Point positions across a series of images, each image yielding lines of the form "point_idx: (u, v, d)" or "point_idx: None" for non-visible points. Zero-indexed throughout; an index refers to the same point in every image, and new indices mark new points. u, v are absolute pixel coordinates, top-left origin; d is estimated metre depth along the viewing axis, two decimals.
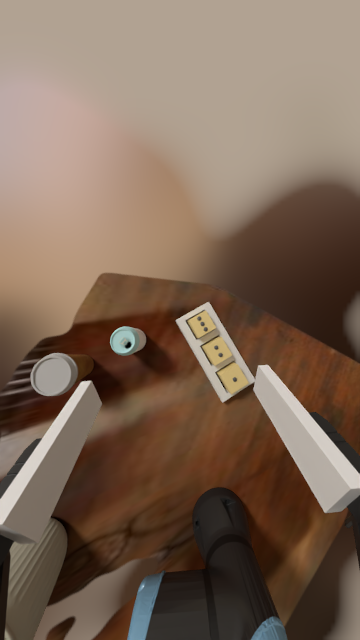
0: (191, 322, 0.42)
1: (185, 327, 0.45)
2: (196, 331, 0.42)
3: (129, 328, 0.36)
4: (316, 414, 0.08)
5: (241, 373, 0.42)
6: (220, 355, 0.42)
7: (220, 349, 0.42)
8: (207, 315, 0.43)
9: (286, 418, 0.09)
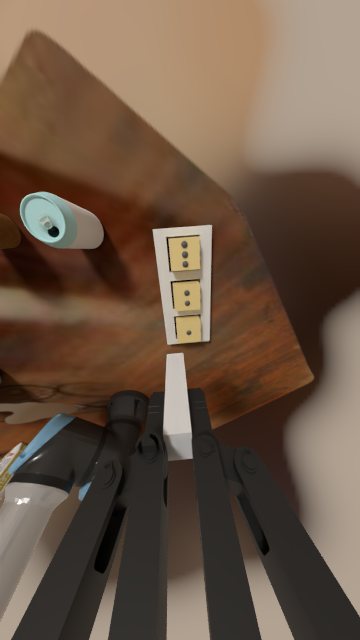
0: (171, 244, 0.28)
1: (162, 248, 0.31)
2: (172, 261, 0.30)
3: (60, 202, 0.21)
4: (199, 389, 0.11)
5: (198, 330, 0.37)
6: (186, 303, 0.33)
7: (190, 297, 0.33)
8: (197, 245, 0.29)
9: None
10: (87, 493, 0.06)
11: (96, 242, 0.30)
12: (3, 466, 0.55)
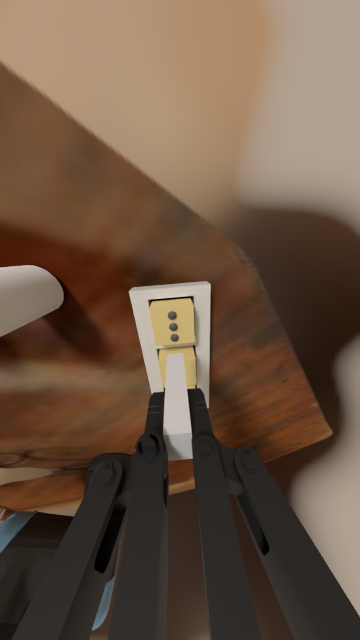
0: (153, 316, 0.20)
1: (144, 312, 0.23)
2: (156, 334, 0.21)
3: None
4: (199, 389, 0.11)
5: None
6: None
7: None
8: (190, 316, 0.20)
9: None
10: (87, 493, 0.06)
11: (50, 309, 0.21)
12: None
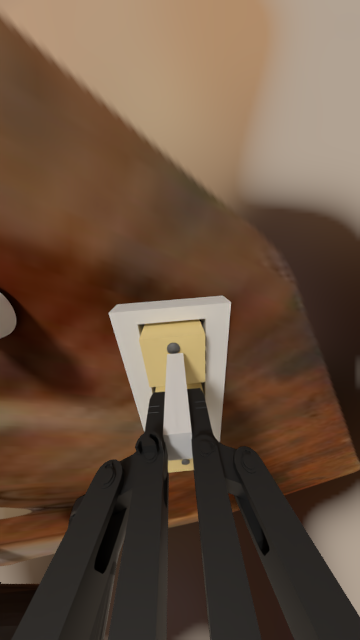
0: (145, 349, 0.14)
1: (132, 342, 0.16)
2: (150, 373, 0.15)
3: None
4: (199, 389, 0.11)
5: None
6: None
7: None
8: (200, 349, 0.14)
9: None
10: (87, 493, 0.06)
11: None
12: None
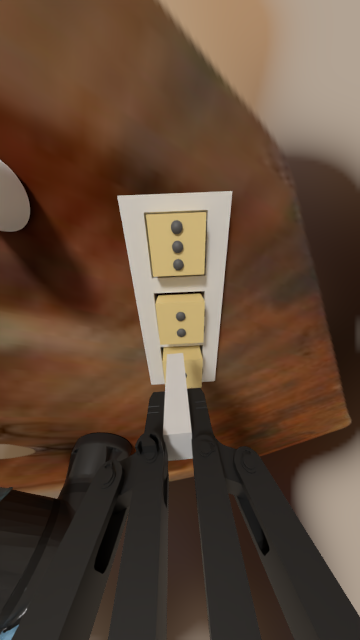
0: (151, 227, 0.15)
1: (138, 234, 0.17)
2: (154, 258, 0.16)
3: None
4: (199, 389, 0.11)
5: (199, 372, 0.23)
6: (180, 333, 0.19)
7: (186, 324, 0.19)
8: (201, 231, 0.15)
9: None
10: (87, 493, 0.06)
11: (8, 217, 0.15)
12: None
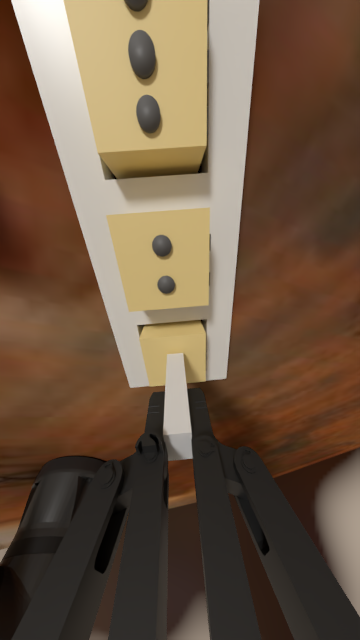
0: None
1: (59, 58, 0.08)
2: (93, 96, 0.07)
3: None
4: (199, 389, 0.11)
5: (201, 357, 0.14)
6: (164, 286, 0.10)
7: (175, 265, 0.10)
8: (197, 0, 0.06)
9: None
10: (87, 493, 0.06)
11: None
12: None
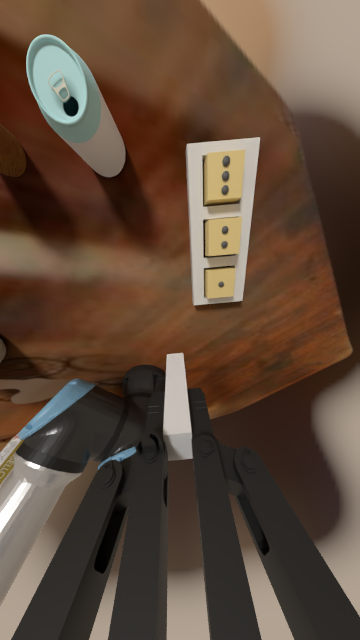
0: (210, 161, 0.24)
1: (197, 172, 0.25)
2: (209, 185, 0.25)
3: (80, 60, 0.15)
4: (199, 389, 0.11)
5: (232, 281, 0.32)
6: (223, 245, 0.28)
7: (228, 237, 0.27)
8: (241, 163, 0.24)
9: None
10: (87, 493, 0.06)
11: (117, 162, 0.24)
12: (9, 448, 0.51)
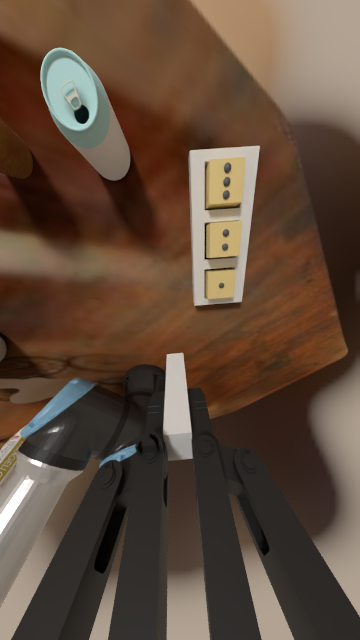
0: (212, 167, 0.25)
1: (199, 177, 0.26)
2: (211, 190, 0.26)
3: (91, 71, 0.16)
4: (199, 389, 0.11)
5: (232, 282, 0.33)
6: (224, 247, 0.29)
7: (229, 239, 0.28)
8: (242, 170, 0.25)
9: None
10: (87, 493, 0.06)
11: (123, 166, 0.25)
12: (7, 449, 0.50)
